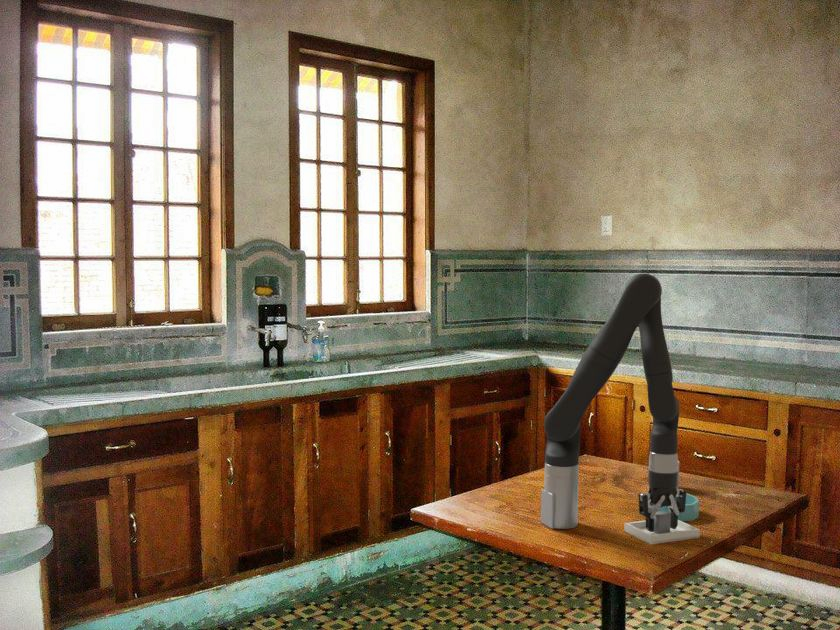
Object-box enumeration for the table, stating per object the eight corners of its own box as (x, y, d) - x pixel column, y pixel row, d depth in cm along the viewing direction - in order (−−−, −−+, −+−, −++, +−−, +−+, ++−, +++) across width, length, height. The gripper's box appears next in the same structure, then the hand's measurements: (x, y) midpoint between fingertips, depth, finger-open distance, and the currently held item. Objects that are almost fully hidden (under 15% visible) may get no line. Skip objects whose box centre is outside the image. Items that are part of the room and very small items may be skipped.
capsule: (659, 535, 228) (660, 517, 228) (649, 530, 233) (650, 512, 232) (673, 533, 230) (674, 515, 230) (663, 528, 234) (663, 510, 234)
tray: (650, 544, 223) (650, 536, 223) (624, 531, 234) (624, 523, 234) (699, 537, 229) (699, 529, 229) (671, 524, 240) (672, 517, 239)
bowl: (664, 523, 240) (664, 508, 240) (631, 508, 255) (631, 493, 254) (709, 518, 246) (710, 502, 246) (674, 503, 260) (675, 488, 260)
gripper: (649, 474, 224) (647, 537, 225) (694, 469, 229) (692, 530, 230) (632, 467, 231) (630, 528, 232) (676, 463, 236) (675, 522, 237)
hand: (661, 529), depth 231 cm, fingers open, 6 cm apart
